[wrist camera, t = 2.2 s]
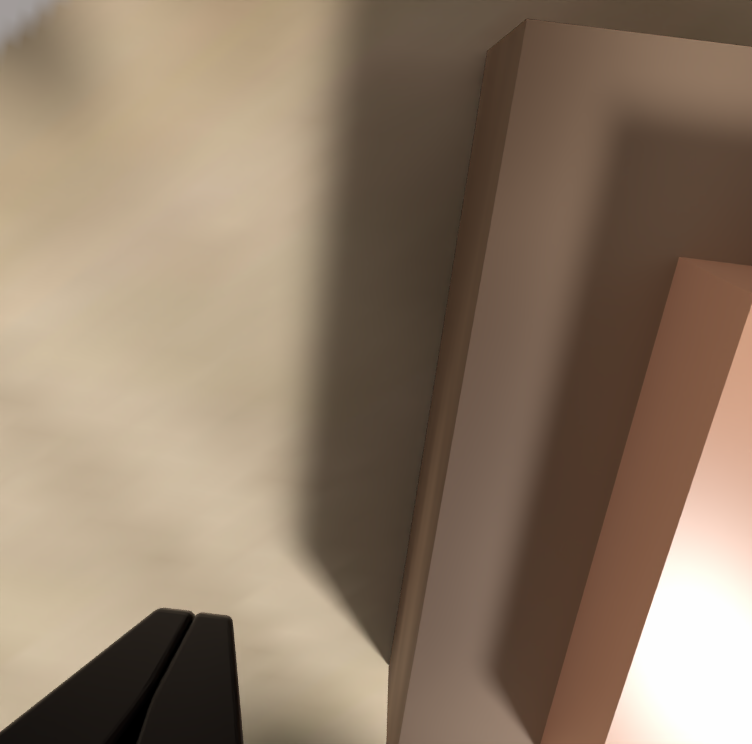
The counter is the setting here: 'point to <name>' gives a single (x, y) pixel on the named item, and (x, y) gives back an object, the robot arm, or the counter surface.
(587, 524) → the wooden block
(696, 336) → the salmon pink brick
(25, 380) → the counter surface
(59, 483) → the counter surface
